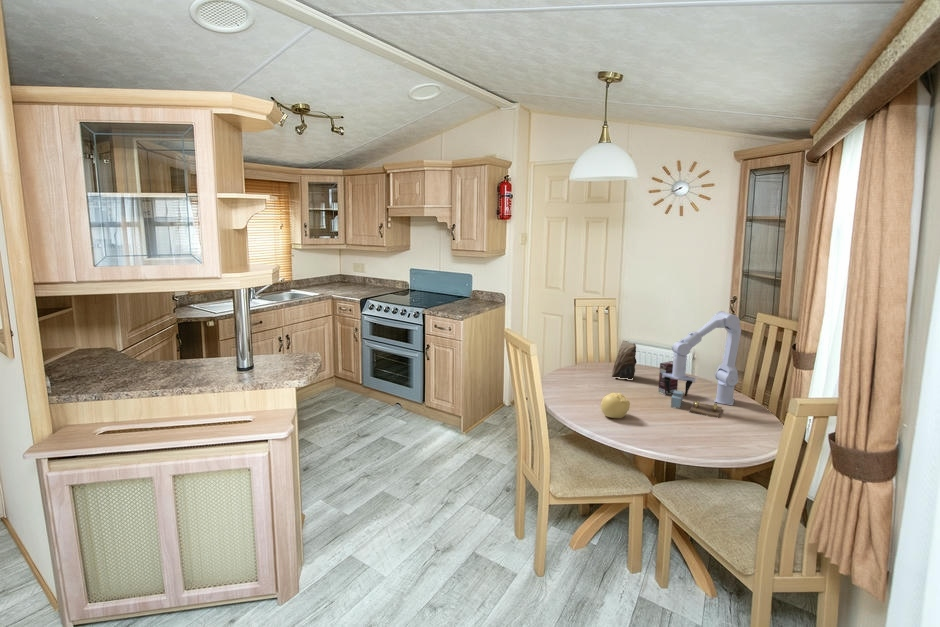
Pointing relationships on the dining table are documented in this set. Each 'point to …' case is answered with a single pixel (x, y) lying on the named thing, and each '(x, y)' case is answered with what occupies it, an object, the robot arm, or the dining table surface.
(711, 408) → the peg stand
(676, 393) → the light blue rectangular block
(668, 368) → the supplement box
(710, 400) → the dining table surface
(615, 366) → the brown rock
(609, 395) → the yellow round lump
